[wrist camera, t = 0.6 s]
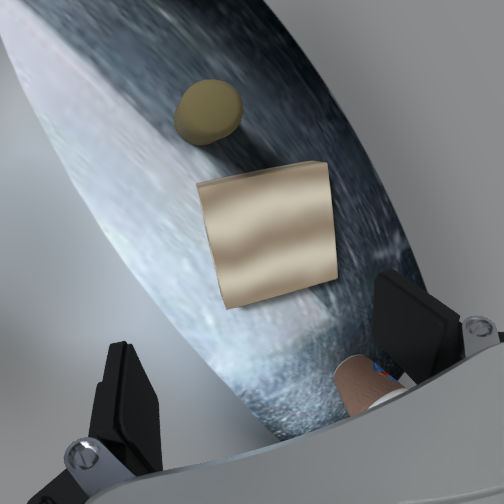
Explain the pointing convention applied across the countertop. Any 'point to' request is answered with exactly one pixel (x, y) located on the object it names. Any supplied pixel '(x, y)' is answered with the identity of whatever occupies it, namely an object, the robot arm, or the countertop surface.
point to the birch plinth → (270, 231)
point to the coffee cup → (364, 384)
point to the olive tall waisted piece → (208, 112)
